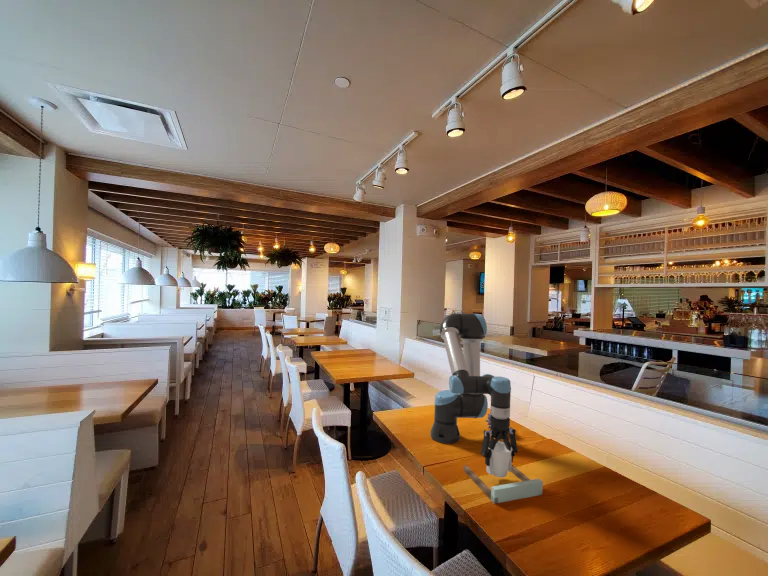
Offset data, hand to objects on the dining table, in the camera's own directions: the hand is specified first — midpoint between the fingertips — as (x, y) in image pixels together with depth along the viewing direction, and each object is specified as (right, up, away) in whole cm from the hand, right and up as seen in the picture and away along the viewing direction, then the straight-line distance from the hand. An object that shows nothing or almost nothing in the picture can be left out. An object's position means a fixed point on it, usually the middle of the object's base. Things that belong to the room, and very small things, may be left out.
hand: (498, 471), depth 132 cm
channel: (0, -4, -1) cm, 4 cm away
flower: (+14, -4, +44) cm, 46 cm away
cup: (0, -1, 0) cm, 1 cm away
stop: (+3, -4, -11) cm, 12 cm away
